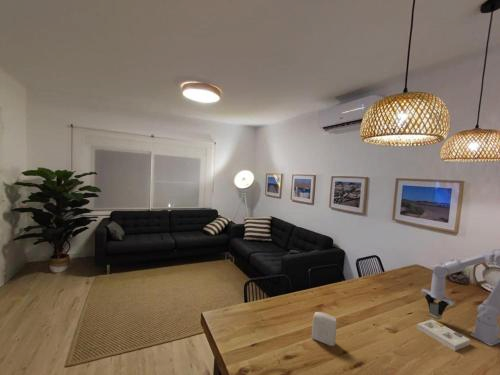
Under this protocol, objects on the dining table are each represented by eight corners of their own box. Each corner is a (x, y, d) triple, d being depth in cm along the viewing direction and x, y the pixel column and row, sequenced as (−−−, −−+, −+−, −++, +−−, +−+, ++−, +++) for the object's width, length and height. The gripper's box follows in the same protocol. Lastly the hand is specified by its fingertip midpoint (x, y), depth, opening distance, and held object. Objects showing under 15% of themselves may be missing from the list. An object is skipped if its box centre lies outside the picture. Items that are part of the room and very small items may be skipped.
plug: (433, 313, 128) (434, 301, 128) (441, 318, 125) (443, 305, 124) (428, 315, 127) (429, 302, 126) (437, 319, 123) (438, 306, 123)
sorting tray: (431, 323, 124) (432, 318, 123) (469, 344, 109) (470, 338, 109) (417, 328, 119) (417, 322, 119) (454, 351, 104) (455, 344, 104)
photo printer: (335, 342, 105) (338, 315, 104) (334, 348, 101) (336, 320, 101) (312, 333, 110) (314, 308, 109) (310, 338, 106) (312, 312, 106)
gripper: (419, 282, 130) (416, 305, 131) (449, 294, 117) (446, 321, 117) (427, 280, 133) (424, 303, 134) (457, 292, 119) (455, 318, 120)
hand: (435, 311), depth 126 cm, fingers closed on plug, 4 cm apart
